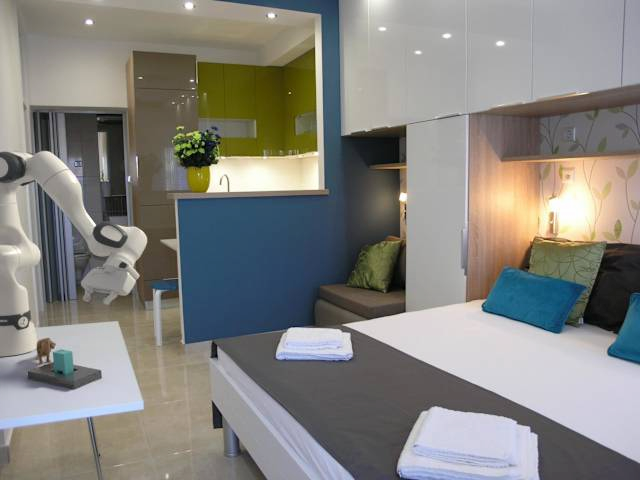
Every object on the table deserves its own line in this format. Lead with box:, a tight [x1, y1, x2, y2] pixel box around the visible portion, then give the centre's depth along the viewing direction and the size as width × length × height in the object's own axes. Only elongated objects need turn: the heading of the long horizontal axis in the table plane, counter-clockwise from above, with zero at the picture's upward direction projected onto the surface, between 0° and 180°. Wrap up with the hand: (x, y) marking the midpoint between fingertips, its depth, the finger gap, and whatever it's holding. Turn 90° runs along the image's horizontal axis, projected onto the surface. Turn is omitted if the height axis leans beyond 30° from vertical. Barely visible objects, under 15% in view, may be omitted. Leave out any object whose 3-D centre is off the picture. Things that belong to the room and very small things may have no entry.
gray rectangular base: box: [27, 361, 103, 390], centre depth 174 cm, size 21×10×2 cm, turn 63°
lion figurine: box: [35, 337, 57, 366], centre depth 191 cm, size 15×5×9 cm, turn 41°
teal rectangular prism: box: [52, 348, 74, 375], centre depth 174 cm, size 5×3×8 cm, turn 63°
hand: (94, 302), depth 186 cm, fingers open, 8 cm apart
